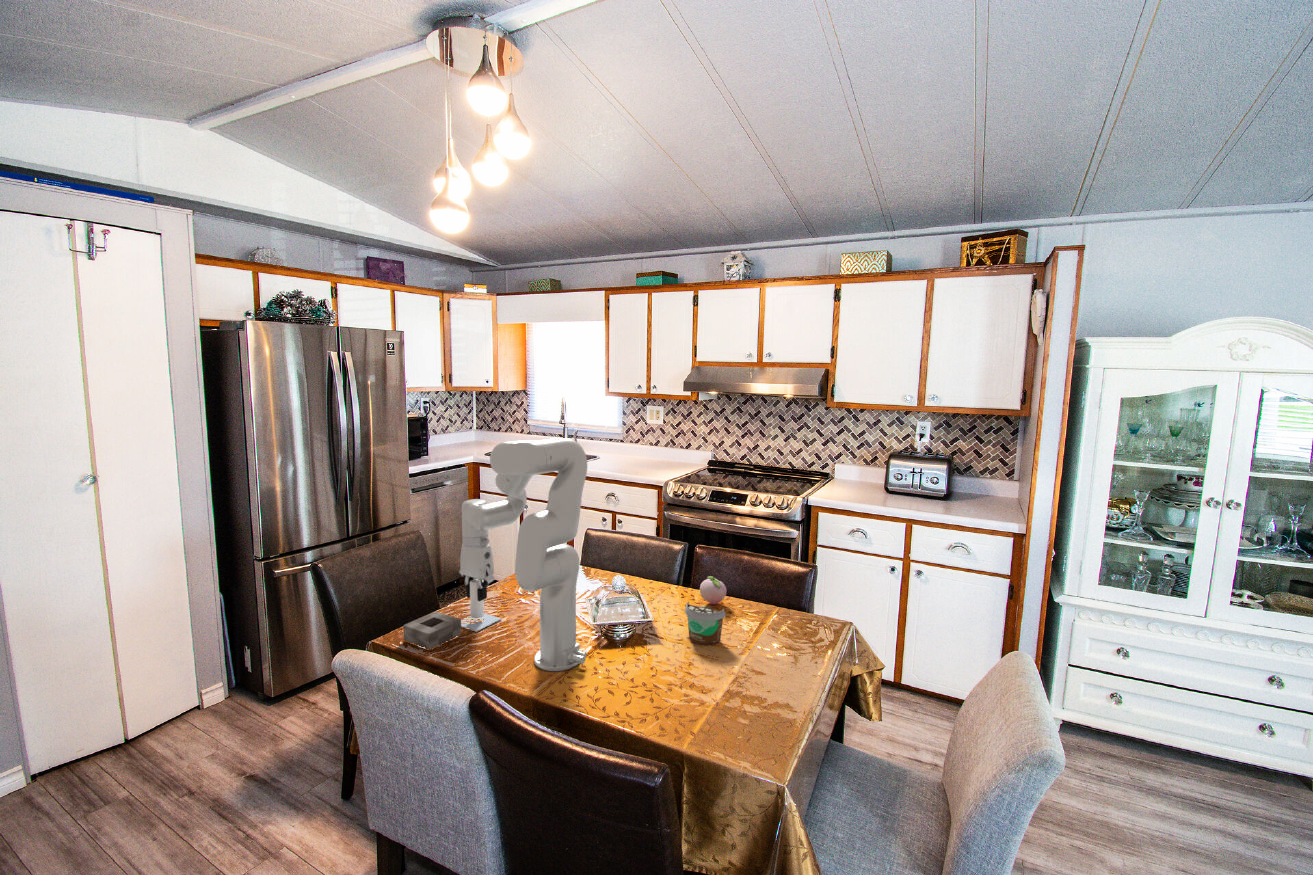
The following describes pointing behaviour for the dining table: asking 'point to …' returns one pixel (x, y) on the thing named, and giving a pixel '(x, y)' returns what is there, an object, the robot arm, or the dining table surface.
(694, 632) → the food container
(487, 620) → the mat
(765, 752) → the dining table surface
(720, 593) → the decorative fruit
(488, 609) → the dining table surface
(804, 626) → the dining table surface
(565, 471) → the robot arm
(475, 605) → the peg
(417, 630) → the socket block
